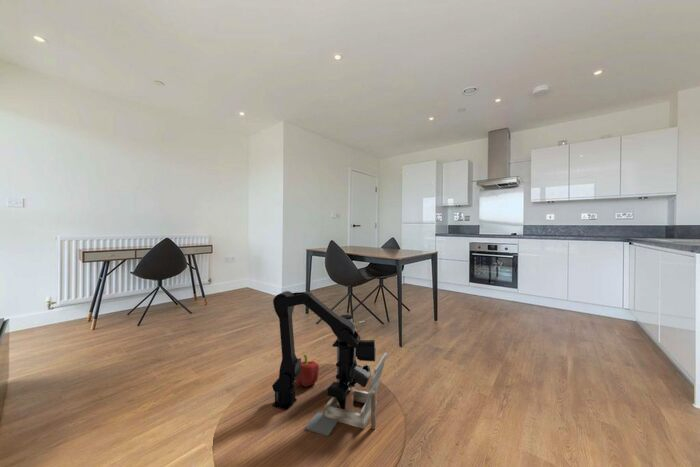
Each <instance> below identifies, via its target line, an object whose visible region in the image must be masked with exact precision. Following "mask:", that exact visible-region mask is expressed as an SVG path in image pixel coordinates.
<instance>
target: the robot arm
mask: <svg viewBox="0 0 700 467" xmlns="http://www.w3.org/2000/svg"><path fill="white" fill-rule="evenodd" d="M272 305H273V309H274V311H275V312H274V313H275V314H276V315H277V317H278V322H279V323H278V324H279V333H280V335H279V336H280V347H281V348H280V349H281V362H280V367H279V373H278V378H277V379H276V381H274V383H273V384H272V386H271V387H272V390H273V391H274V402H272V403H271V406H272V407H275V408H278V409H282V410H285V411H287V410H288V409H289V408H291V407H292V405H294V404H295V403H296V401H297V400H298V399H297V398H296V389H295V384H294V383H295V380H296V379H297V377H298V376H299V374H300V372H301V370H302V366H301V362H302V358H300V357H299V358H298V357H297V356H296V351H295V350H296V348H295V340H294V339H295V338H294V325H293V314H294V310H295V306H299V305H304V306H305V307H307V308H308V309H309V310H310V311H311V312H313V314H315V315H316V316H317V317H318V318H320V319H321V320H322V321H323V322H324V323H326V324H327V325H328V326H329V327H330V329H331V331H332V333H333V335H335V337H336V340H335V341H333V343H332V345H331V346H332V347H334V348H337V347H338V362H337V361H336V363H335V367H336V368H337V367H338V374H337V373H336V375H335V379H336V380H337V379H339V382H337V381H333V382H332V383H331V384H330V385H329V386H328V387H327V389H326V395H327V396H328V397H331V398H332V397H336V399H337V401H338V403H339V404H338V406H339V405H340V407H341V409H345V405H346V398H347V396H348V394H349V393H350V392H351V391H350V390H349V387H348V385H352V386H353V387H354V385H355V384H356V385H357V384H358V385H360V387H362V388H365V387H366V386H367V384H368V383H369V381H370V378H371V376H372V371H371V368H370V365H369V364H367V363H366V364H364V365H363V366H362V365H360V364H358V362H357V360H358V361H360V362H362V361H364V362H373V363H375V362H376V355H377V354H376V352H377V351H376V349H377V347H376V340H375V339H361V338H362V337H361V336H360V334H359V333H358V332H357V329H356V325H354V324H355V323H354V322H353V321H352V322H353V323H354V324H353V323H352V322H351V321H349V320H347V319H346V318H344V317H341V315H338V314H336V313H335V311H333V310H332V309H330V308H329V307H328V306H327V305H325V304H324V302H322V301H321V300H320V299H318V297H316V296H315V295H314V294H313V293H312V292H310V291H297V292H291V291H289V290H285V291H282V292H281V293H277V294H276V295H275V296H274V298H273V301H272ZM355 329H356V330H355ZM354 348H356V360H354Z"/></svg>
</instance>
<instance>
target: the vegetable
mask: <svg viewBox="0 0 700 467" xmlns="http://www.w3.org/2000/svg"><path fill="white" fill-rule="evenodd" d="M303 357H304V361H301V366H302V370H301V372H300V374H299V376H298V377H297V379H296V380H295V381H294V383H296V385H297V386H299V387H302V386H303V387H309V386H312V385H315V384H316V382H317V380H318V378H319V372H320V367H319V364H318V363H317V362H316V361H314V360H311V361H308V356H307V355H306V354H304V355H303Z"/></svg>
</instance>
